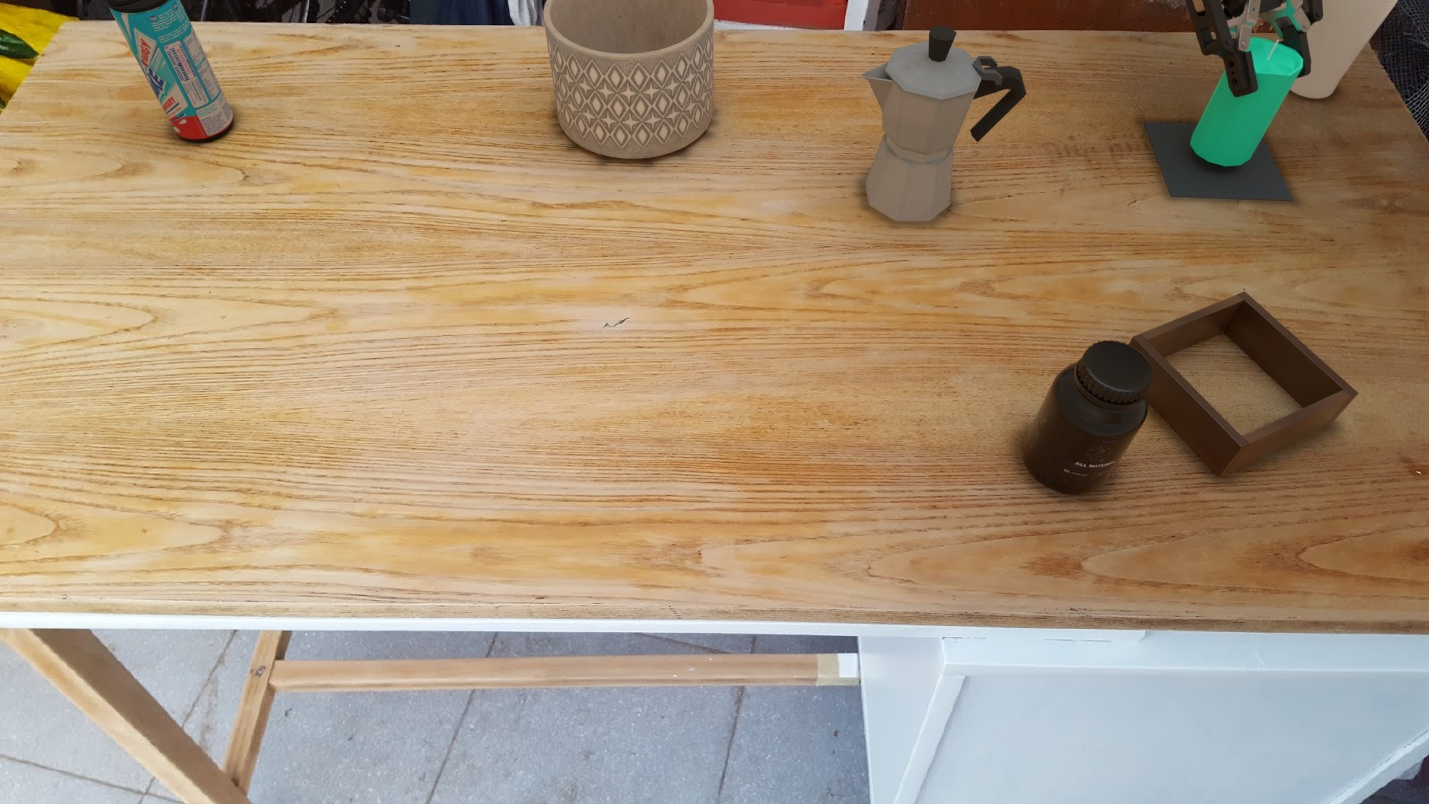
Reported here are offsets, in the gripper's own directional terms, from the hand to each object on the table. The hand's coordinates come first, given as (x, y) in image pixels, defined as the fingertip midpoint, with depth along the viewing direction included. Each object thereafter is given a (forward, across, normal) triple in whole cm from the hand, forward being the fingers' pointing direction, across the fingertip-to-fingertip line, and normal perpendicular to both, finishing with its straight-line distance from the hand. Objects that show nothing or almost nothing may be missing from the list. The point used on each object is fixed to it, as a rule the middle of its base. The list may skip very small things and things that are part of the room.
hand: (1272, 85), depth 88 cm
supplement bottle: (+23, -37, -8) cm, 44 cm away
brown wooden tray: (+23, -22, -8) cm, 33 cm away
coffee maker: (0, -31, +14) cm, 34 cm away
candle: (+5, 0, +7) cm, 9 cm away
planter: (-16, -51, +31) cm, 62 cm away
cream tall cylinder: (+2, +19, +13) cm, 23 cm away
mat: (+6, 0, +8) cm, 10 cm away
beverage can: (-28, -93, +44) cm, 106 cm away
